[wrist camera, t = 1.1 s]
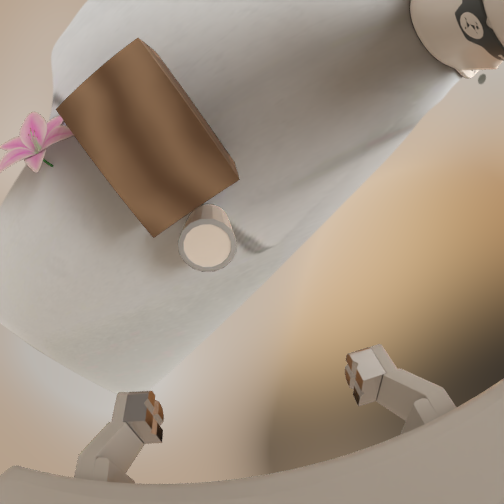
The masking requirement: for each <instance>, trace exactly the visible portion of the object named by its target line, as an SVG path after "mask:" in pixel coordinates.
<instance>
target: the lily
mask: <svg viewBox="0 0 504 504" xmlns="http://www.w3.org/2000/svg"><path fill="white" fill-rule="evenodd" d="M63 121H64V120H63V119H62V118H61V116H60V115H59V116H57V117H55V118H53V119H51V120H50V121H48V122H47V123H46V121H45V119H44V118H43V117H42V116H41V115H40V114H38V113H37V112H31V113H30V114H29V115H28V116H27V117H26V119H25V120H24V122H23V124H22V126H21V129H20V136H18V137H15V138H13V139H11V140H9V141H7V142H5V143H4V144H2V145H1V146H0V148H1V149H3V150H6V151H8V152H7V153H6V154H5V155H4V156H3V157H2V159H1V160H0V173H1V172H2V171H4V170H5V169H7V168H8V167H9V166H11V165H13V164H15V163H16V162H18V161H20V160H23V159H24V161H25V163H26V164H27V165H28V166H29V168H30V169H31V170H33V171H34V172H36V173H37V172H38V171H39V169H40V167H41V164H42V161H44V162H45V163H47V164H48V165H50V166H51V167H53V165H52V164H50V163H49V162H47V161H46V160H45V159H44V155H45V152H46V149H47V147H48V146H50V145H52V144H54V143H56V142H59V141H61V140H64V139H67V138H69V137H72V136H74V135H73V133H72V132H71V130H70V129H69V128H68V126H63V125H61V124H62V122H63ZM32 155H33V156H32Z"/></svg>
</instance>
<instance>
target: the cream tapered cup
mask: <svg viewBox="0 0 504 504" xmlns="http://www.w3.org/2000/svg"><path fill="white" fill-rule="evenodd" d="M236 246H237V240H236V238H235V235H234V232H233V229H232V227H231V224H230V221H229V219H228V216H227V214H226V212H225V211H224V210H222V209H221V208H220V207H218V206H215V205H213V204H204V205H202V206H199V207H197V208H196V209H195V210H194V211H193V212H192V213H191V214H190V216H189V218H188V220H187V222H186V224H185V226H184V228H183V230H182V232H181V235H180V237H179V240H178V248H179V253H180V255H181V257H182V259H183V261H184V262H185V263H187V264H188V265H189V266H190V267H192V268H194V269H197V270H200V271H202V272H206V271H216V270H219V269H221V268H224V267H225V266H226V265H227V264H228V263H230V262H231V261H232V259H233V257H234V255H235V253H236Z"/></svg>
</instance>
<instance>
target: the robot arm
mask: <svg viewBox="0 0 504 504" xmlns="http://www.w3.org/2000/svg"><path fill="white" fill-rule="evenodd" d="M410 12H411V18H412V22H413V25H414V28H415V30H416V33H417V35H418V37H419V38H420V40H421V42H422V43H423V45H424V46H425V47H426V49H427V50H428V51H429V52H430V53H431V54H432V55H433V56H434V57H435V58H436V59H437V60H439V61H440V62H442V63H444V64H446V65H448V66H450V67H453V68H454V69H456V70H457V71H458V72H459V73H460V74H461V75H462V76H463V77H464V78H472V77H473V76H474V75H475V74H476V73H477V72H478V71H479V70H482V69H484V70H486V69H497V68H498V66H499V65H500V64H501V63H502V61H504V0H411V4H410ZM346 361H347V363H348V364H347V366H346V367H345V375H346V380H347V383H348V385H349V387H350V388H352V389H354V391H353V396H354V398H355V400H356V402H357V405H358V406H361V405H364V404H367V403H371V402H374V401H377V402H378V403H380V404H381V405H382V406H384V407H386V408H387V409H388V410H390V411H392V412H393V413H395V414H396V415H398V416H399V417H401V418H402V419H404V420H405V421H406V423H405V425H404V427H403V429H402V431H401V435H399V436H397V437H394V438H392V439H389V440H387V441H384V442H382V443H379V444H377V445H374V446H371V447H368V448H365V449H363V450H360V451H357V452H354V453H351V454H348V455H344V456H341V457H338V458H334V459H331V460H328V461H324V462H320V463H317V464H313V465H309V466H305V467H300V468H296V469H292V470H287V471H283V472H277V473H272V474H266V475H261V476H255V477H248V478H241V479H234V480H225V481H215V482H202V483H185V484H135V482H134V480H132V479H131V478H130V477H129V476H128V475H126V474H125V473H126V472H127V470H128V469H129V467H130V466H131V464H132V463H133V461H134V460H135V458H136V457H137V455H138V454H139V452H140V451H141V449H142V447H143V446H144V444H149V443H162V436H163V430H162V428H161V427H160V425H161V424H162V423H163V418H164V415H163V409H162V407H161V404H160V403H159V402H158V401H156V400H155V395H154V393H153V392H152V391H140V392H119V393H118V395H117V398H116V403H115V407H114V412H113V417H112V422H109V423H108V424H107V425H106V426H105V427H104V428H103V429H102V430H101V431H100V432H99V433H98V435H97V436H96V437H95V438H94V439H93V440H92V441H91V442H90V443H89V444H88V445H87V446H86V447H85V449H84V450H83V451H82V452H81V453H80V454H79V456H78V460H77V465H76V471H75V476H74V478H73V477H66V476H61V475H55V474H50V473H45V472H41V471H37V470H32V469H28V468H24V467H21V466H12V467H10V468H9V469H8V470H6V471H5V472H4V473H3V474H2V475H1V476H0V504H504V379H502V380H501V381H499V382H498V383H496V384H495V385H493V386H492V387H490V388H489V389H487V390H486V391H484V392H482V393H481V394H479V395H478V396H476V397H474V398H473V399H471V400H469V401H467V402H466V403H464V404H462V405H460V406H459V407H457V408H456V406H455V405H454V403H453V402H452V400H451V399H450V397H449V396H448V394H447V393H446V392H445V390H444V388H442V387H440V386H438V385H436V384H433V383H431V382H429V381H427V380H425V379H422V378H420V377H418V376H416V375H414V374H412V373H410V372H407V371H405V370H403V369H397V368H396V366H395V364H394V363H393V361H392V360H391V358H390V357H389V356H388V354H387V352H386V351H385V349H384V348H383V346H382V345H381V344H378V345H375V346H372V347H369V348H365V349H362V350H358V351H355V352H352V353H349V354H347V356H346Z"/></svg>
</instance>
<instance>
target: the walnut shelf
mask: <svg viewBox="0 0 504 504" xmlns="http://www.w3.org/2000/svg"><path fill="white" fill-rule="evenodd" d="M56 110H57V112H58V113H59V115H60V116H61V118H62V119H63V120H64V122H65V123H66V125H67V126H68V128H69V129H70V130H71V132H72V133H73V135H74V136H75V137H76V139H77V140H78V142H79V143H80V144H81V146H82V147H83V148H84V150H85V151H86V153H87V154H88V155H89V157H90V158H91V159H92V161H93V162H94V163H95V165H96V166H97V167H98V169H99V170H100V171H101V173H102V174H103V175H104V177H105V178H106V179H107V180H108V182H109V183H110V184H111V186H112V187H113V188H114V190H115V191H116V192H117V193H118V195H119V196H120V197H121V198H122V200H123V201H124V202H125V204H126V205H127V206H128V207H129V209H130V210H131V211H132V212H133V213H134V215H135V216H136V217H137V218H138V220H139V221H140V222H141V223H142V225H143V226H144V227H145V228H146V229H147V231H148V232H149V233H150V234H151V235H152V237H153V238H154V237H156V236H157V235H158V234H160V233H161V232H163V231H164V230H165V229H167V228H168V227H170V226H171V225H173V224H174V223H175V222H177V221H178V220H180V219H181V218H183V217H184V216H185V215H187V214H188V213H190V212H191V211H193V210H194V209H196V208H197V207H199V206H200V205H202V204H203V203H205V202H206V201H208V200H209V199H211V198H212V197H214V196H215V195H217V194H218V193H220V192H221V191H223V190H224V189H226V188H227V187H229V186H230V185H232V184H233V183H235V182H237V181H238V180H240V179H239V176H238V172H237V169H236V165H235V162H234V161H233V160H232V158H231V157H230V155H229V154H228V152H227V151H226V149H225V148H224V146H223V145H222V144H221V142H220V141H219V139H218V138H217V136H216V135H215V133H214V132H213V131H212V129H211V128H210V126H209V125H208V123H207V122H206V121H205V119H204V118H203V116H202V115H201V113H200V112H199V111H198V109H197V108H196V106H195V105H194V104H193V102H192V101H191V99H190V98H189V97H188V95H187V94H186V92H185V91H184V90H183V88H182V87H181V86H180V84H179V83H178V81H177V80H176V79H175V77H174V76H173V75H172V73H171V72H170V70H169V69H168V68H167V66H166V65H165V64H164V62H163V61H162V60H161V58H160V57H159V56H158V54H157V53H156V52H155V51H154V50H153V49H152V48H150V47H149V46H148V45H147V44H145V43H144V42H143V41H142V40H140V39H139V38H137V39H135V40H134V41H133V42H131V43H130V44H129V45H127V46H126V47H125V48H123V49H122V50H121V51H120V52H118V53H117V54H116V55H115V56H113V57H112V58H111V59H110V60H108V61H107V62H106V63H105V64H104V65H102V66H101V67H100V68H99V69H98V70H97V71H95V72H94V73H93V74H92V75H91V76H90V77H89V78H88V79H86V80H85V81H84V82H83V83H82V84H81V85H80V86H79V87H78V88H77V89H76V90H75V91H74V92H73V93H72V94H71V95H69V96H68V97H67V98H66V99H65V100H64V101H63V102H62V104H61V105H60V106H59V107H58V108H57V109H56Z"/></svg>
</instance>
